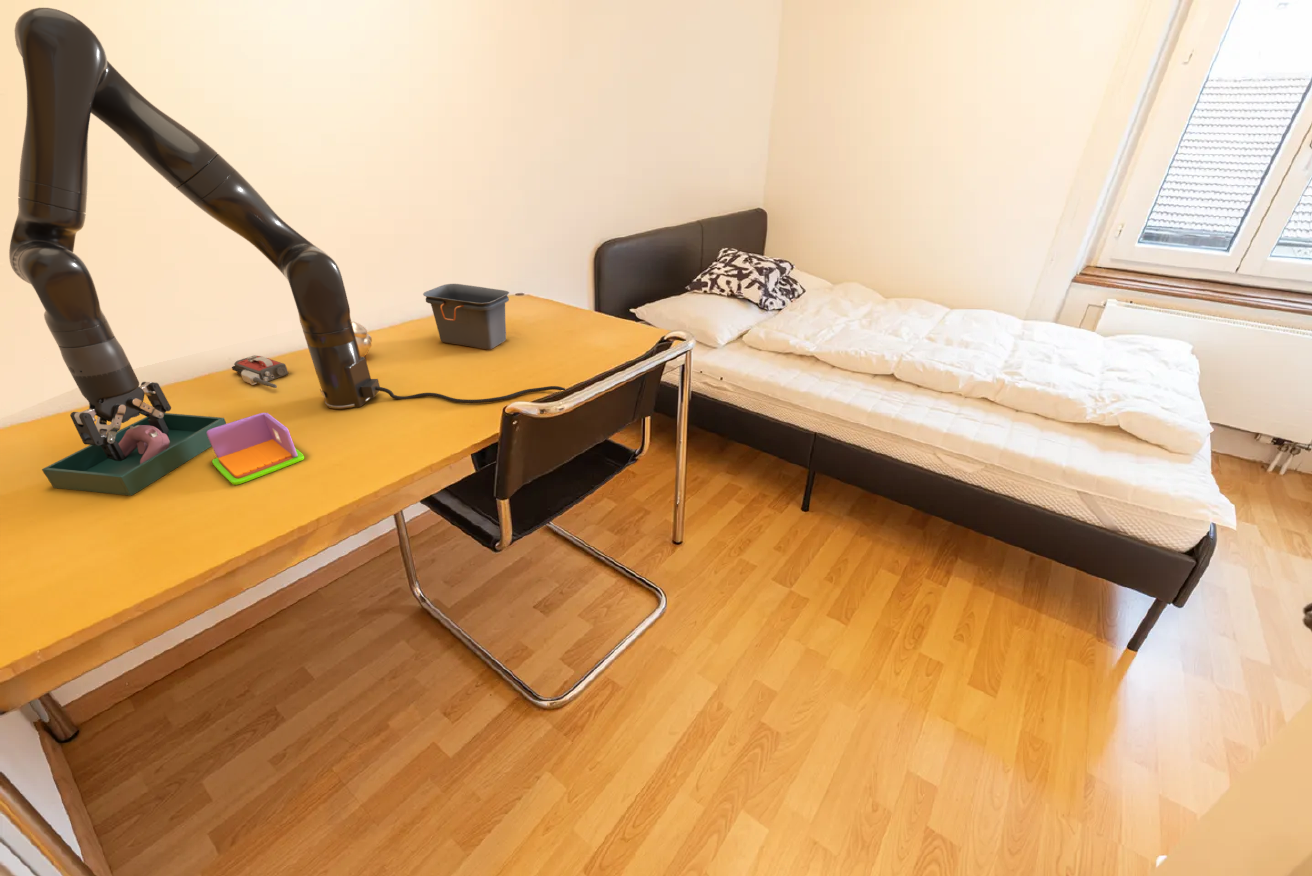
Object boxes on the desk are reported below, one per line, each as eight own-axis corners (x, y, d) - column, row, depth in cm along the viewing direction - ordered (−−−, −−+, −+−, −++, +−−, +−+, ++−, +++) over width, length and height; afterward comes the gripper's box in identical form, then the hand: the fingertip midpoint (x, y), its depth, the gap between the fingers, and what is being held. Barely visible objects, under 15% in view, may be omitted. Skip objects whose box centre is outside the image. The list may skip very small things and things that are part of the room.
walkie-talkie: (224, 376, 137) (272, 393, 129) (217, 359, 135) (266, 376, 126) (261, 364, 144) (309, 380, 135) (255, 347, 141) (303, 363, 133)
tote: (231, 434, 112) (223, 417, 110) (131, 495, 94) (121, 477, 92) (163, 428, 114) (155, 412, 112) (53, 487, 96) (41, 469, 94)
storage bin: (519, 339, 162) (514, 289, 154) (489, 358, 149) (481, 305, 142) (457, 330, 167) (449, 282, 160) (423, 347, 155) (412, 296, 148)
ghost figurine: (358, 367, 142) (347, 329, 137) (328, 362, 145) (317, 325, 140) (383, 355, 150) (374, 319, 145) (355, 350, 152) (345, 314, 147)
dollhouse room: (281, 438, 111) (269, 407, 108) (307, 459, 105) (295, 427, 101) (210, 462, 103) (195, 430, 100) (233, 487, 97) (219, 453, 93)
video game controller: (172, 468, 103) (176, 431, 103) (141, 470, 99) (146, 431, 99) (141, 456, 107) (145, 420, 106) (111, 457, 103) (115, 420, 102)
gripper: (75, 384, 88) (122, 470, 96) (157, 352, 100) (193, 431, 109) (34, 381, 89) (84, 466, 97) (121, 349, 101) (159, 427, 109)
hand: (141, 447), depth 103 cm, fingers open, 8 cm apart
